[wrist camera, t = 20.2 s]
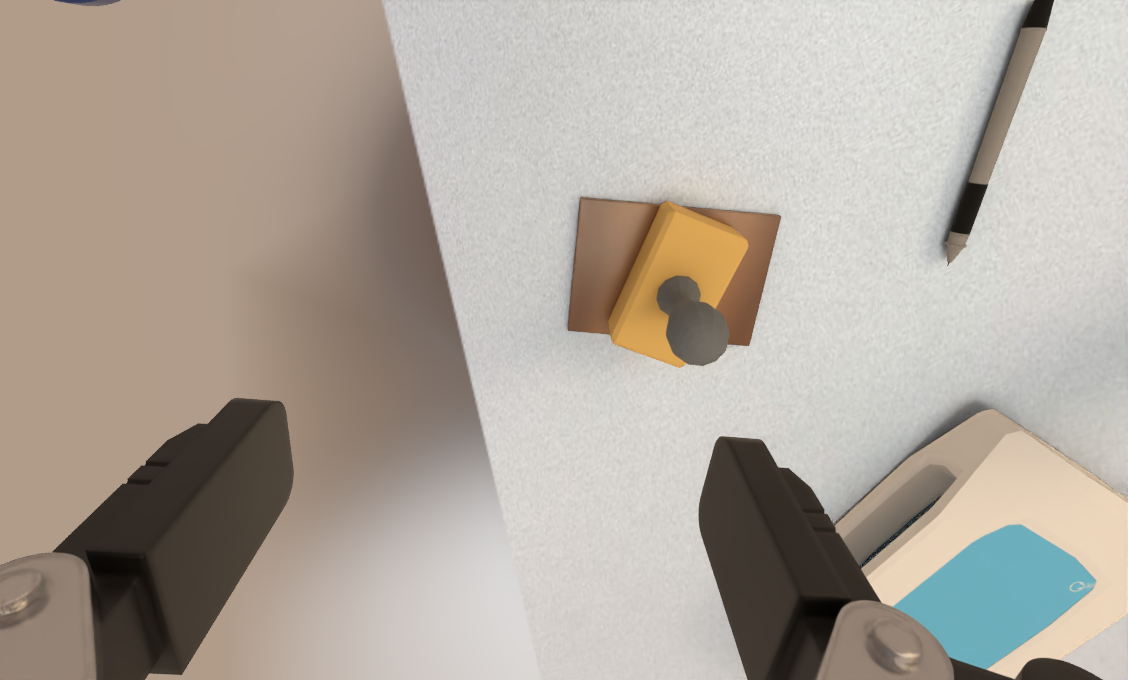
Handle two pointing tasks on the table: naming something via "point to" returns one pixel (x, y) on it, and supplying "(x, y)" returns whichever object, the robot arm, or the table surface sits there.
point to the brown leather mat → (616, 241)
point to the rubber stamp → (678, 289)
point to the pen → (999, 124)
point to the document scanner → (996, 545)
